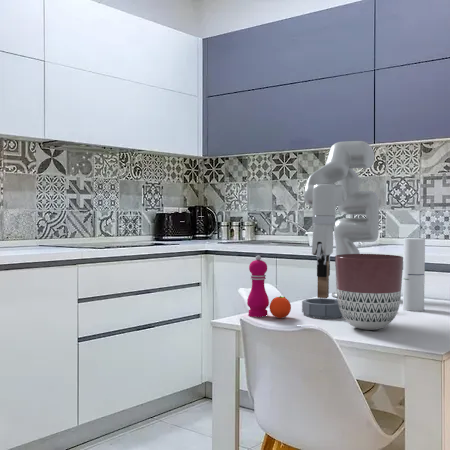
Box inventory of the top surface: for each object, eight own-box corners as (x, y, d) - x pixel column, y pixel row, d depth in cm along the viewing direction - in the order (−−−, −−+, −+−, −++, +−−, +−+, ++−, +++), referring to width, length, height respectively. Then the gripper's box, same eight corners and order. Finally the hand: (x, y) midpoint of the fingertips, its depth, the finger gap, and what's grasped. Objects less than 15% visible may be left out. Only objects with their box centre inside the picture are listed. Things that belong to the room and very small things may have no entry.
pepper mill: (243, 316, 191) (243, 255, 190) (252, 313, 197) (252, 254, 196) (263, 318, 187) (263, 256, 187) (272, 314, 194) (272, 255, 193)
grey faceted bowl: (309, 310, 203) (310, 297, 203) (346, 313, 197) (347, 299, 197) (298, 316, 191) (298, 302, 191) (337, 319, 185) (337, 305, 185)
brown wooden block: (319, 296, 196) (320, 260, 196) (328, 297, 195) (328, 261, 194) (317, 297, 193) (317, 261, 193) (326, 298, 192) (326, 262, 192)
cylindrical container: (420, 311, 200) (421, 239, 199) (399, 309, 204) (400, 238, 203) (427, 309, 206) (427, 238, 205) (407, 307, 210) (407, 237, 209)
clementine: (276, 314, 194) (276, 293, 194) (295, 316, 190) (295, 295, 190) (265, 318, 187) (265, 296, 187) (285, 320, 184) (285, 298, 183)
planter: (353, 319, 186) (353, 252, 185) (412, 327, 173) (413, 256, 173) (322, 329, 171) (323, 256, 170) (385, 338, 158) (386, 260, 158)
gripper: (319, 220, 202) (319, 273, 203) (305, 221, 187) (305, 278, 188) (340, 220, 199) (340, 274, 199) (328, 221, 184) (328, 279, 185)
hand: (323, 275), depth 194 cm, fingers closed on brown wooden block, 3 cm apart
